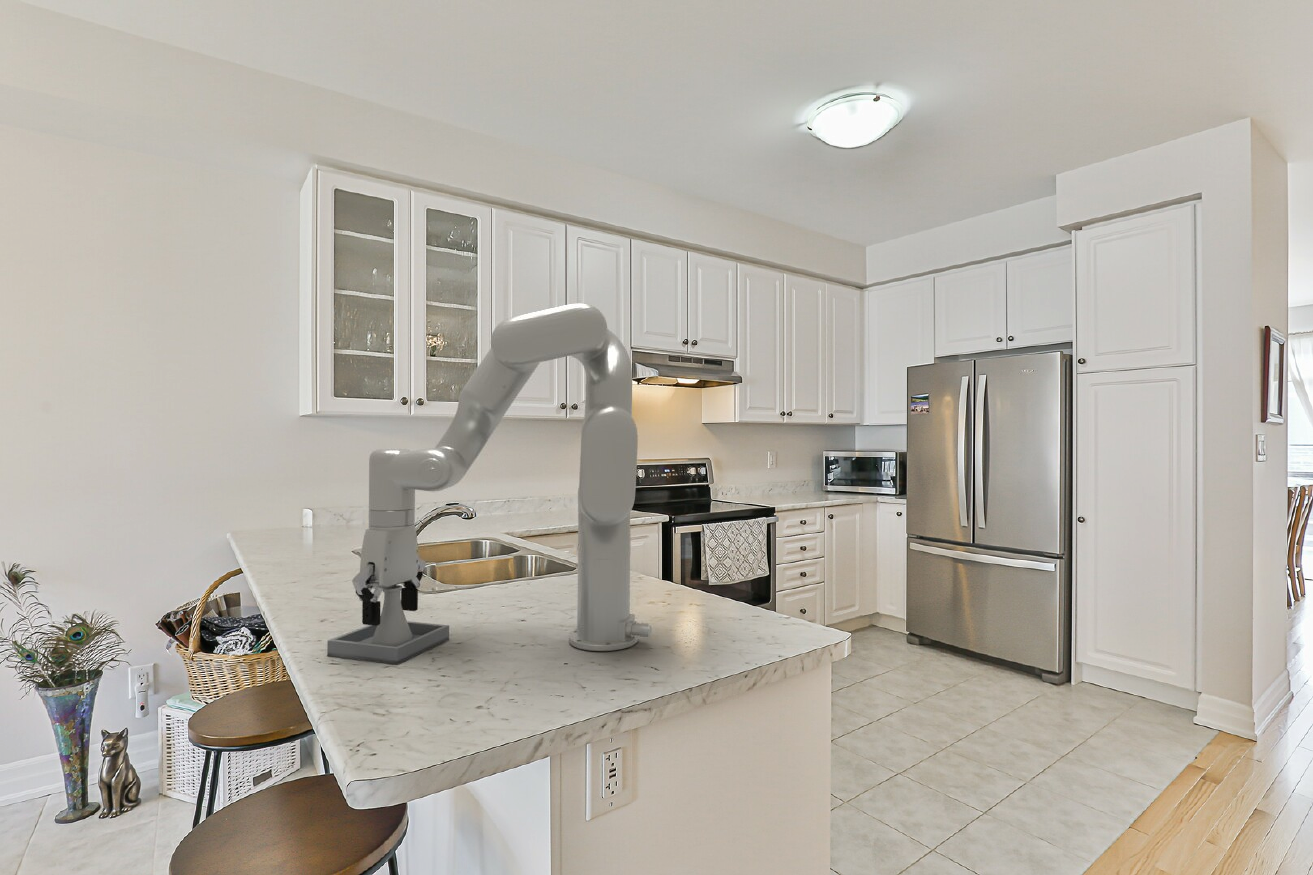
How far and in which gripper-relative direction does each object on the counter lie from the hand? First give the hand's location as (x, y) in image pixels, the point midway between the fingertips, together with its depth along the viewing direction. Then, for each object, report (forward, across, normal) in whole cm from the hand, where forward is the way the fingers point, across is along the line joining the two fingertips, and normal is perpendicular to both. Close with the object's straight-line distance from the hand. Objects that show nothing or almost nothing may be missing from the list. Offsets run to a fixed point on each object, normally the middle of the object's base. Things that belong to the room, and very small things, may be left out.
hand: (391, 617), depth 114 cm
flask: (+5, 0, 0) cm, 5 cm away
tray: (+5, 0, 0) cm, 5 cm away
